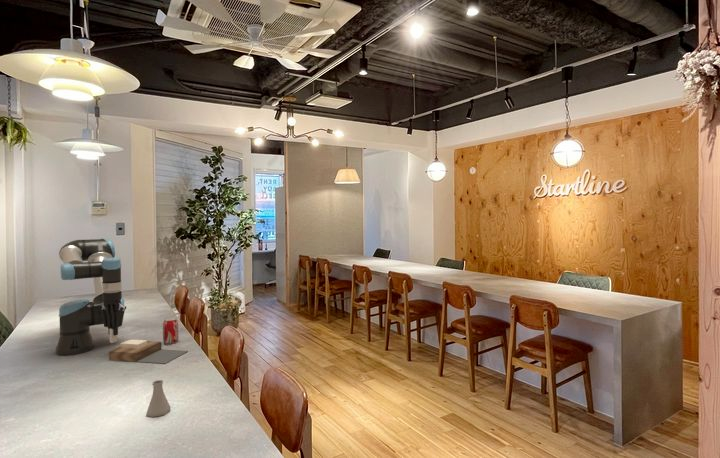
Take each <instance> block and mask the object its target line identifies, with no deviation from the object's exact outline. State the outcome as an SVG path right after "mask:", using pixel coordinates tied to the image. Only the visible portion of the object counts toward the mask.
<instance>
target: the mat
mask: <svg viewBox="0 0 720 458" xmlns="http://www.w3.org/2000/svg"><path fill="white" fill-rule="evenodd" d="M188 352H189V351H188V350H178V349H164V348H163V349H162V348H161V350H159V351H157V352H155V353H153V354H151V355H149V356H147V357H145V358H142V359H140V360H138V361H137V362H136V363H143V364H158V365H166V364H168V363H170V362H172V361H173V360H176V359H177V358H179V357H181V356H184V354H186V353H188Z"/></svg>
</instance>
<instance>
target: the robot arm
mask: <svg viewBox="0 0 720 458" xmlns="http://www.w3.org/2000/svg"><path fill="white" fill-rule="evenodd" d="M58 256H59V259H60V260H61V261H62V262H63V263H62V264H61V265H60V279H61V280H63V281H73V280H81V279H82V280H83V279H92V278H93V285H94V292H95V297H94V298H93V299H92V301H90V300H89V299H88V298H83V299H76V300H73V301H68V302H66V303H63V304H61V305H60V307H59V312H58V318H59V338H58V341H57V346H55V354H56V355H58V356H70V355H71V356H72V355H78V354H82V353H86V352H89V351H91V350H93V349H94V348H95V341H94V339H93V337H92V334H91V331H90V330H91V329H90V327H92V326H93V327H94V326H99V325H103V326H104V327H105V328H107V329H108V330H107V331H108V336H109V343H111V344H113V343H117V342H118V334H119V328H120V327H122V326H123V321H124V315H125V311H126V309H127V306H126V305H125V299H124V297H122V296H123V295H122V294H123V293H122V292H123V291H122V290H123V289H122V261H121V259H120V258H119V257H116V250H115V245H114V242H113V241H112V240H111V239H110V238H100V239H99V238H95V239H93V238H92V239H74V240H72V241H69V242H67V243H65V244H64V245H62V247H61V248H60V249H59V252H58Z"/></svg>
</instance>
